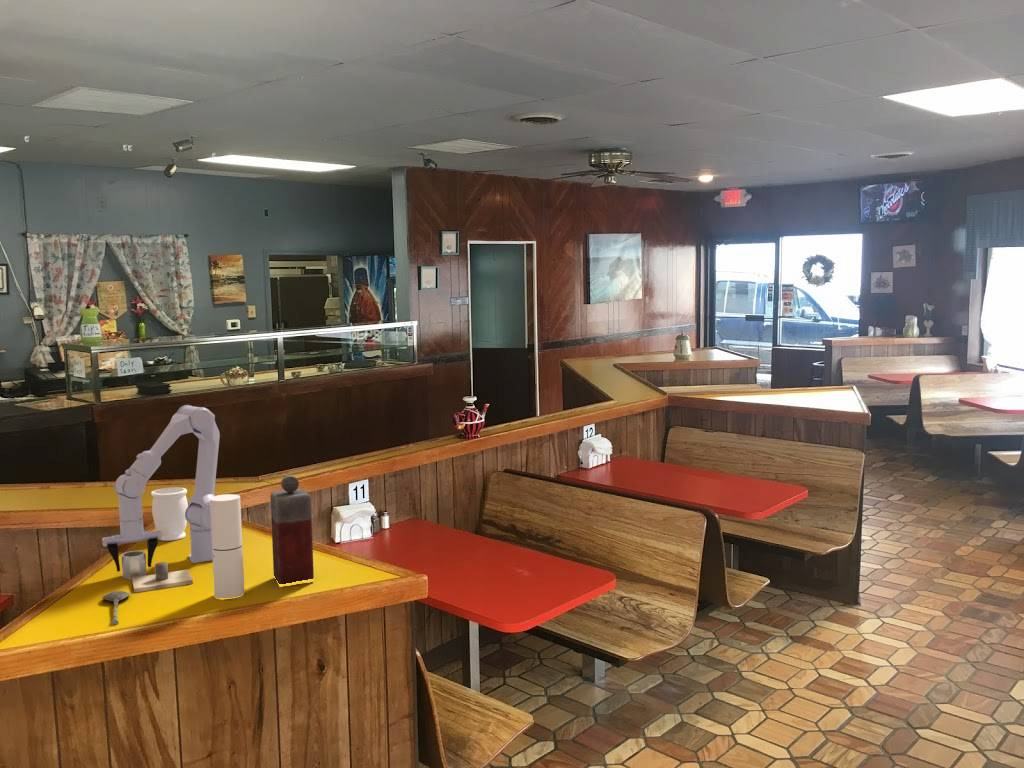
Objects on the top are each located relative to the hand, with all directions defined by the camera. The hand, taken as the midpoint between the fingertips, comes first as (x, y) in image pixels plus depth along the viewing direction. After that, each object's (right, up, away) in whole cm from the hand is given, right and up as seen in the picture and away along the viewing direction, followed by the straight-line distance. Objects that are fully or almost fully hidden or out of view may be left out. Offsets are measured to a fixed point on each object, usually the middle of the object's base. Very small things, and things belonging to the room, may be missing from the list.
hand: (134, 568), depth 233 cm
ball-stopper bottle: (+44, -2, -4) cm, 44 cm away
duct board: (+10, -3, -6) cm, 12 cm away
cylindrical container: (+31, -4, -16) cm, 35 cm away
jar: (-5, +1, +37) cm, 37 cm away
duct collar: (0, -2, 0) cm, 2 cm away
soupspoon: (+6, -5, -25) cm, 26 cm away
